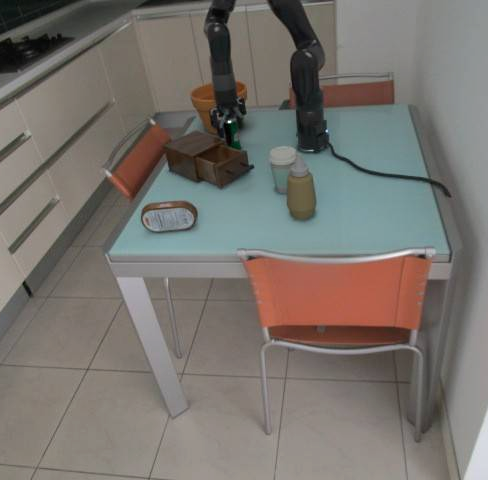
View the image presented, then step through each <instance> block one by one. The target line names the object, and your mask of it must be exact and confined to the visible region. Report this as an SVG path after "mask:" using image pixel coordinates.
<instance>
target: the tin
mask: <svg viewBox="0 0 488 480" xmlns="http://www.w3.org/2000/svg"><path fill="white" fill-rule="evenodd" d="M198 217H199V212H198V209H197V207H196V206H195V205H194V204H193V203H192V202H189V201H188V200H182V199H180V200H179V199H178V200H168V201H159V202H157V201H156V202H150V203H147V204H146V205H144V206H143V208H142V209H141V214H140V222H141V224H142V226H143V227H144V228H145V229H147V230H148V231H150V232H153V233H165V232H166V233H167V232H177V231H179V232H180V231H188V230H190V229H192V228H193V227H194V226H195V225H196V223H197V221H198Z"/></svg>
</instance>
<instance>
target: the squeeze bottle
mask: <svg viewBox="0 0 488 480" xmlns="http://www.w3.org/2000/svg"><path fill="white" fill-rule="evenodd" d="M309 170H310V168H309V165H308V164H306V163H304V160H303V156H302V153H300V152H297V154H296V159H295V164H294V165H292V166H291V168H290V171H291V173H290V174H289V175H288V178H287V193H286V207H287V209H288V210H289V213H290V215H291V216H292V218H293V219H295V220H298V221H304V220H308V219H310V218H312V217H313V215H314V213H315V210H316V207H317V202H318V201H317V195H316V188H315V182H314V176H313V174H312V173H311V172H310V171H309Z"/></svg>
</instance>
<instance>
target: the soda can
mask: <svg viewBox="0 0 488 480" xmlns="http://www.w3.org/2000/svg"><path fill="white" fill-rule="evenodd" d="M223 131H224V140H225V143H226V146H228V147H231V148H234V149H237V150H239V151H241V149H242V146H241V139H240V133H239V132H240V131H239V130H238V124H237V119H236V118H235V116H234V115H233V116H230V117H228V118H226V121H225V122H224V124H223Z"/></svg>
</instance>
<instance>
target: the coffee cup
mask: <svg viewBox="0 0 488 480" xmlns="http://www.w3.org/2000/svg"><path fill="white" fill-rule="evenodd" d="M297 153H298V152H297V150H296V149H295V148H294V147H293V146H290V145H289V146H288V145H282V146H281V145H280V146H276V147H274V148H272V149H271V150H270V151H269V155H268V158H267V160H268V162H269V164H270V169H271V174H272V178H273V182H274V187H275V190H276V192H278V193H280V194H287V178H288V175H289V174H290V173H291V171H290V168H291V166H292V165H294V164H295V159H296V154H297Z"/></svg>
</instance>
